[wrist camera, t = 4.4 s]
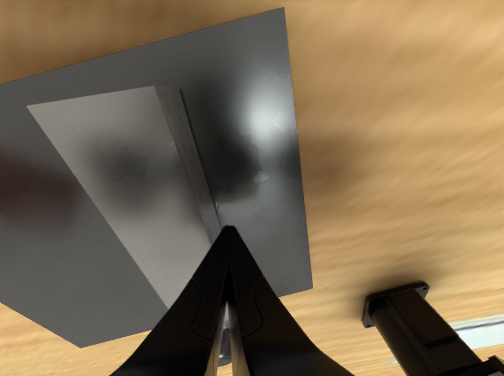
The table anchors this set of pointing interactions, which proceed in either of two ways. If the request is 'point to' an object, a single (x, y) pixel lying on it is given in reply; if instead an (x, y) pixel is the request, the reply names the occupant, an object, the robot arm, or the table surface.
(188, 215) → the link
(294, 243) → the pintle plate
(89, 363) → the table surface
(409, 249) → the table surface
